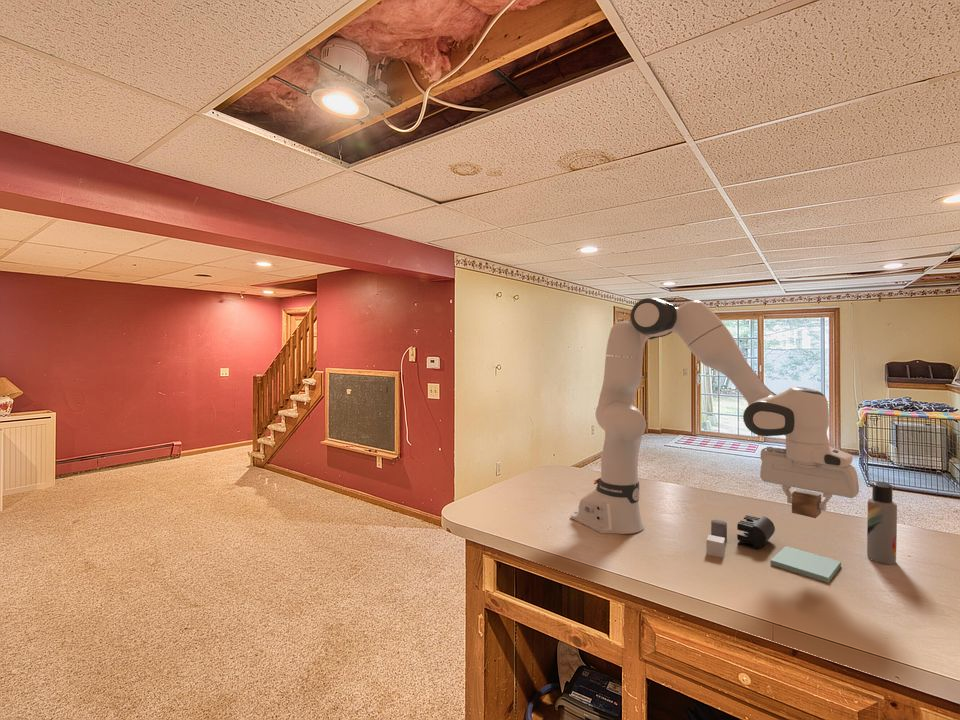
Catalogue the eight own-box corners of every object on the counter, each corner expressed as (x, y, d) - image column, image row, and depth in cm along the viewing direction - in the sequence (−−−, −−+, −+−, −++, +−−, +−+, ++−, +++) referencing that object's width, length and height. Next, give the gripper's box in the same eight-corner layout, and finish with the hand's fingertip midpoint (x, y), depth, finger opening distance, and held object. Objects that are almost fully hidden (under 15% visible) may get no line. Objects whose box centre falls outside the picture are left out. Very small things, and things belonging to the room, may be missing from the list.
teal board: (770, 564, 116) (770, 560, 116) (785, 550, 124) (785, 546, 124) (828, 582, 107) (828, 577, 107) (840, 566, 115) (841, 561, 115)
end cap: (765, 553, 123) (766, 528, 123) (736, 545, 128) (736, 521, 128) (775, 541, 130) (775, 518, 130) (747, 534, 135) (747, 512, 135)
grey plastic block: (706, 554, 123) (706, 539, 123) (708, 548, 126) (708, 534, 126) (723, 558, 120) (723, 543, 120) (725, 552, 124) (725, 537, 124)
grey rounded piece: (708, 539, 132) (708, 522, 132) (714, 535, 135) (714, 518, 134) (723, 543, 129) (723, 526, 129) (729, 539, 131) (729, 522, 131)
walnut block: (791, 512, 116) (791, 493, 115) (797, 507, 119) (797, 488, 119) (815, 518, 112) (815, 498, 112) (821, 513, 115) (821, 493, 115)
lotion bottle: (896, 558, 118) (897, 482, 118) (896, 567, 114) (897, 488, 114) (867, 552, 122) (868, 478, 122) (866, 560, 118) (867, 483, 117)
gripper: (756, 447, 121) (756, 499, 121) (854, 461, 105) (854, 520, 106) (764, 443, 125) (764, 493, 125) (860, 456, 109) (860, 513, 110)
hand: (806, 506), depth 115 cm, fingers closed on walnut block, 5 cm apart
